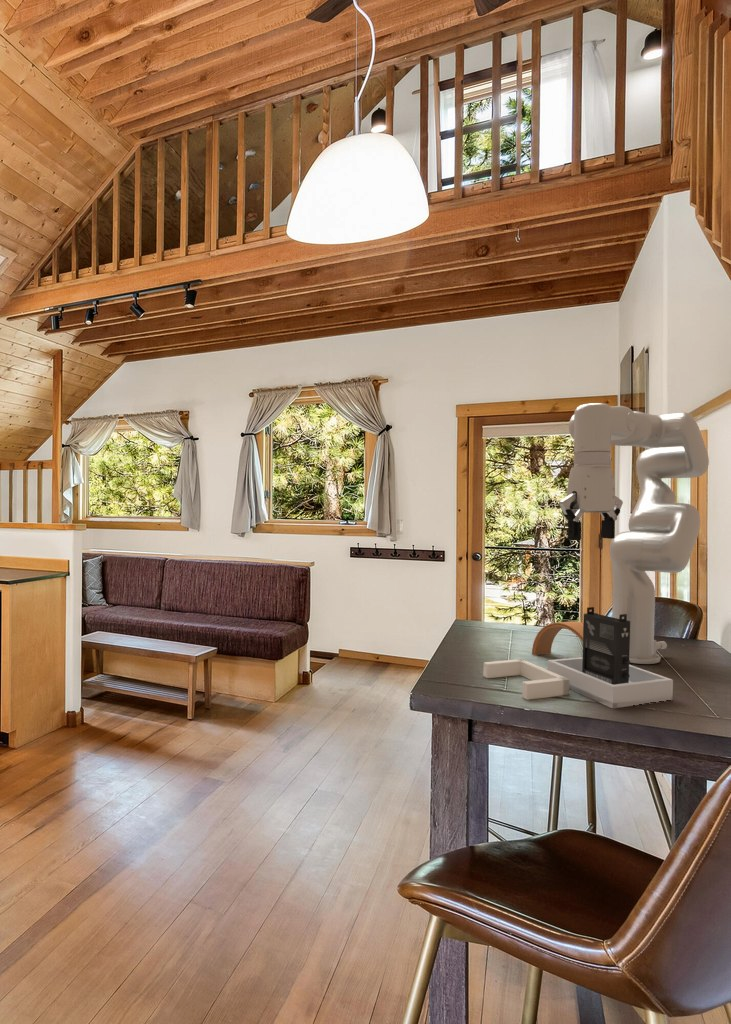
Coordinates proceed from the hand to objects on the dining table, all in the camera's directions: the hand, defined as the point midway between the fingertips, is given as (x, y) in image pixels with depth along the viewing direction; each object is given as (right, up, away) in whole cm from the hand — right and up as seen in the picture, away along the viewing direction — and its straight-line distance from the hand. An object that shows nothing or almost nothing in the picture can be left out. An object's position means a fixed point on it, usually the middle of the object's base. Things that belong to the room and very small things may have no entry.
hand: (591, 538), depth 118 cm
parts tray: (0, -30, -8) cm, 31 cm away
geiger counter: (0, -30, -8) cm, 31 cm away
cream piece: (-17, -30, -7) cm, 35 cm away
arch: (-1, -31, +10) cm, 32 cm away
